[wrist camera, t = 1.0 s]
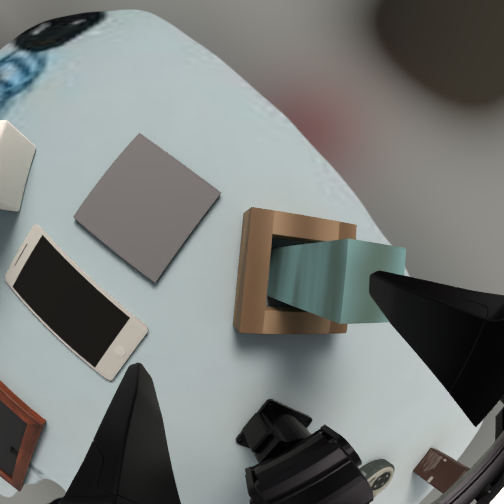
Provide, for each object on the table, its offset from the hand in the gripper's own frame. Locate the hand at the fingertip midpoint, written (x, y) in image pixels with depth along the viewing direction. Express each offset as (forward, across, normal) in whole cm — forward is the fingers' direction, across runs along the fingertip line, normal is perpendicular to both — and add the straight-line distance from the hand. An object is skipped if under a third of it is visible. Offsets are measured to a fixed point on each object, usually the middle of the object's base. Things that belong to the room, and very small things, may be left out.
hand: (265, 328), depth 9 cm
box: (-4, -23, +50) cm, 56 cm away
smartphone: (+16, +15, +4) cm, 22 cm away
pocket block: (+14, -7, +8) cm, 18 cm away
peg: (+14, -7, +9) cm, 18 cm away
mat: (+18, +4, -1) cm, 19 cm away
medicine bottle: (+22, +19, -10) cm, 31 cm away
